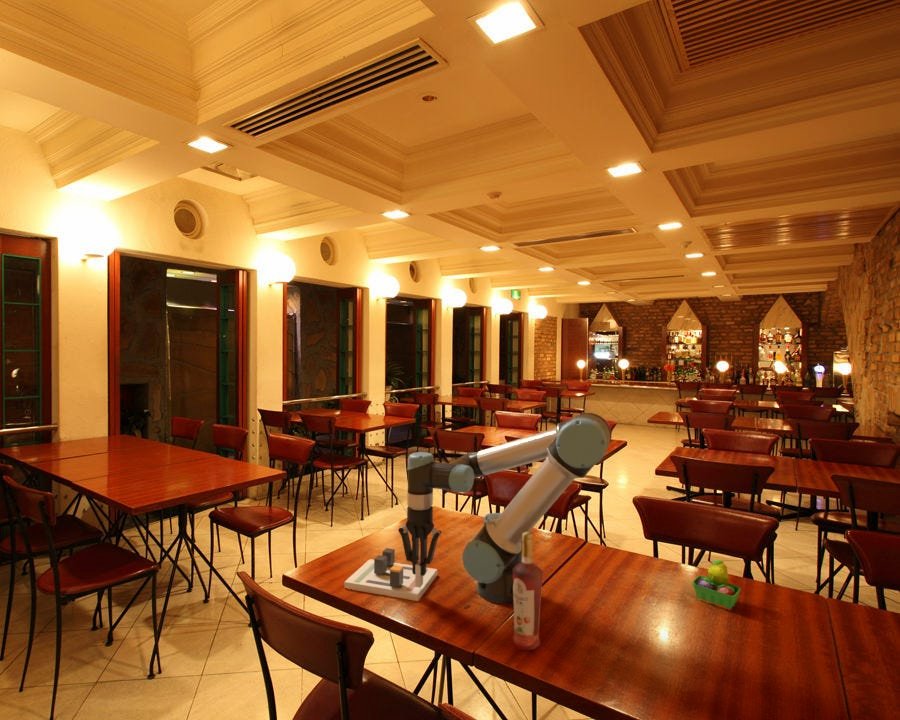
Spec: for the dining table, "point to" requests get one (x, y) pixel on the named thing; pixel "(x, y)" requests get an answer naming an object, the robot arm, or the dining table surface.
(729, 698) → the dining table surface
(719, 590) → the fruit basket
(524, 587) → the liquor
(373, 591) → the panel
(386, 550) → the handle far
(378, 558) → the handle middle
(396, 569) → the handle
